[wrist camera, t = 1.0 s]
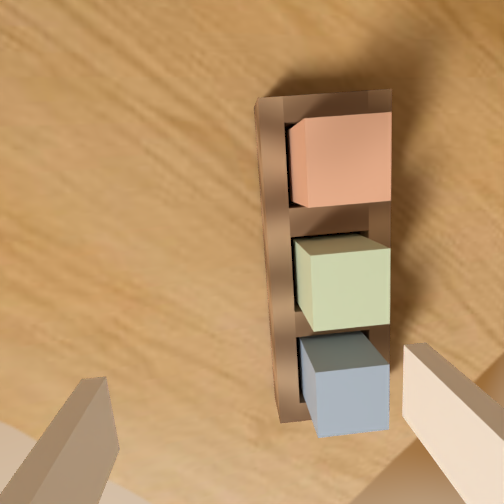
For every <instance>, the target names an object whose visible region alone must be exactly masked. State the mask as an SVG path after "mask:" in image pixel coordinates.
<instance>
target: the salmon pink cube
mask: <svg viewBox="0 0 504 504" xmlns="http://www.w3.org/2000/svg"><path fill="white" fill-rule="evenodd" d="M391 131H392V112H384V113H370V114H357V115H343V116H329V117H316V118H304V119H303V120H301V121H300V122H299V123H297V124H296V125H295V126H293V127H292V128H291V129H289V130H288V131H287V140H288V158H289V177H290V195H291V201H293V202H295V203H298V204H300V205H303V206H305V207H308V208H312V207H324V206H335V205H347V204H359V203H370V202H382V201H391Z"/></svg>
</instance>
